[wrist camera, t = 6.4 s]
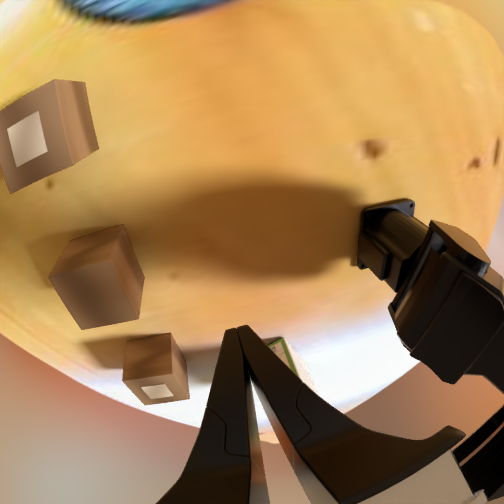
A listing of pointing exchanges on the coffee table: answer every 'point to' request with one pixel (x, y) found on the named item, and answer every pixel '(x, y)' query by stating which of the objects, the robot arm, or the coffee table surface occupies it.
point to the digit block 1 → (45, 133)
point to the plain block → (99, 279)
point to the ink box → (292, 361)
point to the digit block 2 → (155, 370)
